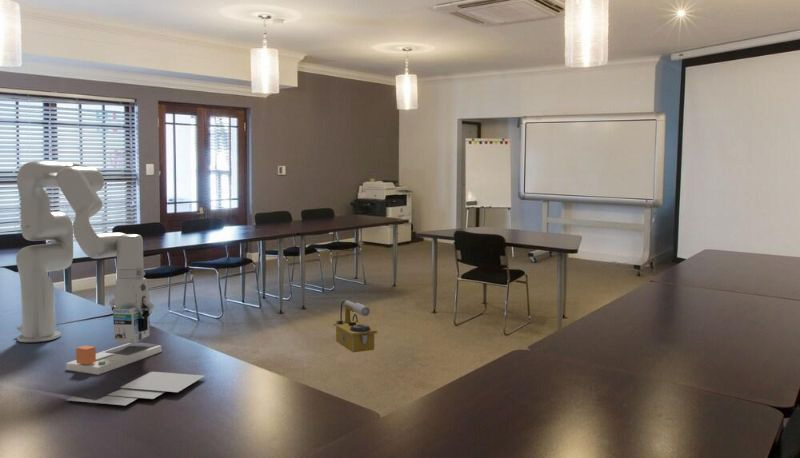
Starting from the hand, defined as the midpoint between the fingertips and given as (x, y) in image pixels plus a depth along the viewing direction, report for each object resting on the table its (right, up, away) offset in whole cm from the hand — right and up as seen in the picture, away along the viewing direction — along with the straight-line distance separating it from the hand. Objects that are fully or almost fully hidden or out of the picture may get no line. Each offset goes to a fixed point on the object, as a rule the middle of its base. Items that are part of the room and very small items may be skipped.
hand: (132, 329), depth 190 cm
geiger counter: (+67, -8, +17) cm, 69 cm away
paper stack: (+15, -11, -29) cm, 35 cm away
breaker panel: (-2, -9, -5) cm, 10 cm away
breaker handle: (-6, -7, -16) cm, 18 cm away
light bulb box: (0, -3, 0) cm, 3 cm away
